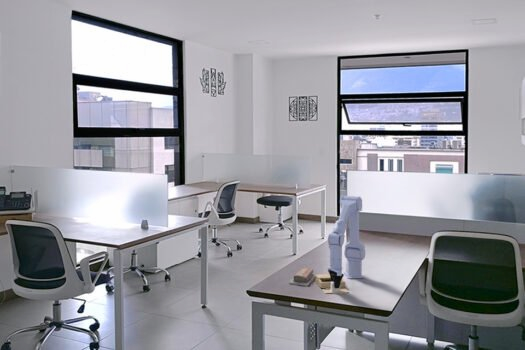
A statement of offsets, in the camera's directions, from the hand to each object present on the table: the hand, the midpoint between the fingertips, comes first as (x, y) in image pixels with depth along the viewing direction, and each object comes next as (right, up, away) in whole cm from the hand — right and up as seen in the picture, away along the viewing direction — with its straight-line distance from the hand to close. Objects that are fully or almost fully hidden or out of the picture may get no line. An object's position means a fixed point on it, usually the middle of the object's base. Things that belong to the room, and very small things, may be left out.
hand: (335, 286), depth 239 cm
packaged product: (-14, -1, +19) cm, 23 cm away
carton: (-1, -1, +11) cm, 11 cm away
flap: (0, -3, 0) cm, 3 cm away
